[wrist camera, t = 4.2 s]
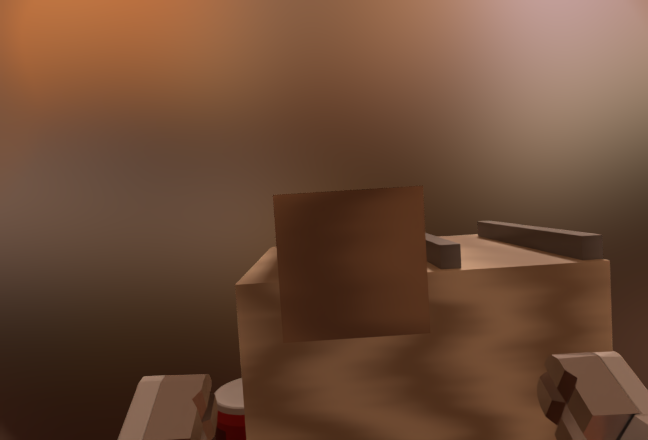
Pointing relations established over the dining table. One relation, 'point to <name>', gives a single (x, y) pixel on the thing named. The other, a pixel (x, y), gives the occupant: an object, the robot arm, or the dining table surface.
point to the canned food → (230, 412)
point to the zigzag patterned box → (434, 345)
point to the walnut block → (352, 264)
